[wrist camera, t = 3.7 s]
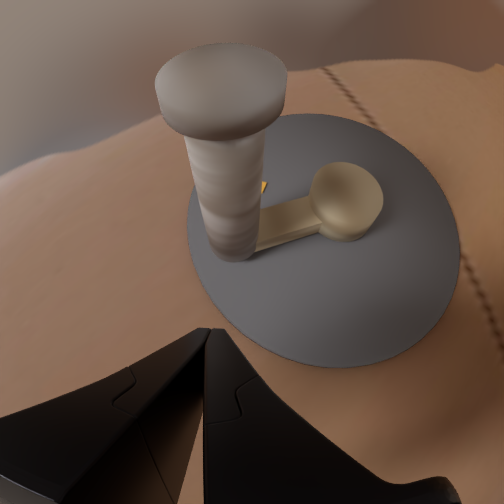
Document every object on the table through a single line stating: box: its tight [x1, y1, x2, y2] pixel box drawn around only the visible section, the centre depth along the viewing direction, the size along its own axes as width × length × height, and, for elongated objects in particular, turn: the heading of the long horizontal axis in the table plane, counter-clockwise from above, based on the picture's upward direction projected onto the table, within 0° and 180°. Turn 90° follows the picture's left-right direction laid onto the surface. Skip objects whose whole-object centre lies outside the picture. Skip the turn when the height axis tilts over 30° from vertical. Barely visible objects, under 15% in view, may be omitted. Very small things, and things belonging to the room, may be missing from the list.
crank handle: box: [155, 43, 383, 263], centre depth 16 cm, size 13×5×13 cm, turn 109°
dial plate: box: [187, 114, 460, 368], centre depth 23 cm, size 22×22×1 cm
